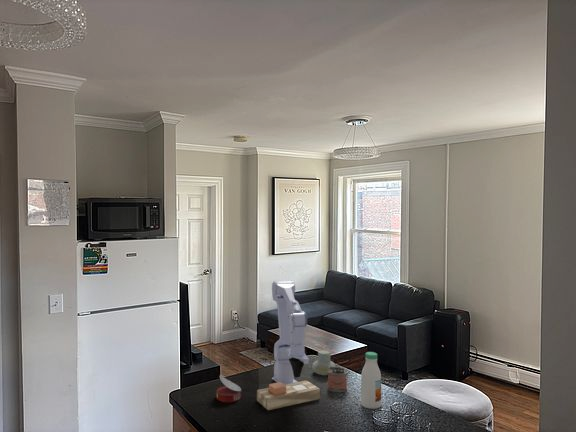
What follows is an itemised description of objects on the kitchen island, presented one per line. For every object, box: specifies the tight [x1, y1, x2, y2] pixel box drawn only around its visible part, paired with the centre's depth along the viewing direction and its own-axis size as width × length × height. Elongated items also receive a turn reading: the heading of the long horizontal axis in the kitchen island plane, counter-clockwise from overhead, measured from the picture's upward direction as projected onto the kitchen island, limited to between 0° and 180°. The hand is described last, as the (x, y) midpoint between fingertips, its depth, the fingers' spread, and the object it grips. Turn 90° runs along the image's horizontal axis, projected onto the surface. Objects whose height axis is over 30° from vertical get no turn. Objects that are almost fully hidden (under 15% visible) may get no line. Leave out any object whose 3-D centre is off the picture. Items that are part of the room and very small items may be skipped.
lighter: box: [327, 365, 348, 393], centre depth 178 cm, size 8×3×10 cm, turn 84°
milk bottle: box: [360, 351, 382, 410], centre depth 164 cm, size 8×8×20 cm
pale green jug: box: [311, 349, 337, 377], centre depth 198 cm, size 11×8×10 cm
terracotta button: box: [268, 382, 286, 396], centre depth 165 cm, size 5×5×3 cm
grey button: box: [291, 384, 308, 391], centre depth 170 cm, size 5×5×3 cm
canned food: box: [216, 374, 242, 403], centre depth 169 cm, size 11×10×10 cm
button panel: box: [256, 379, 321, 411], centre depth 168 cm, size 10×23×4 cm, turn 119°
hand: (297, 376), depth 170 cm, fingers closed
